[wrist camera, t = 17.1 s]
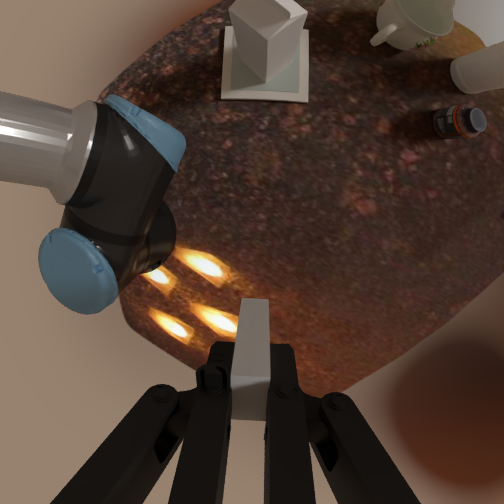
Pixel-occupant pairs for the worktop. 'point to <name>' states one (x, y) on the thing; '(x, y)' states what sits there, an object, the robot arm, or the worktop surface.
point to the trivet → (253, 87)
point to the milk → (267, 33)
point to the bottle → (479, 70)
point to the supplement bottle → (459, 122)
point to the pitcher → (413, 23)
